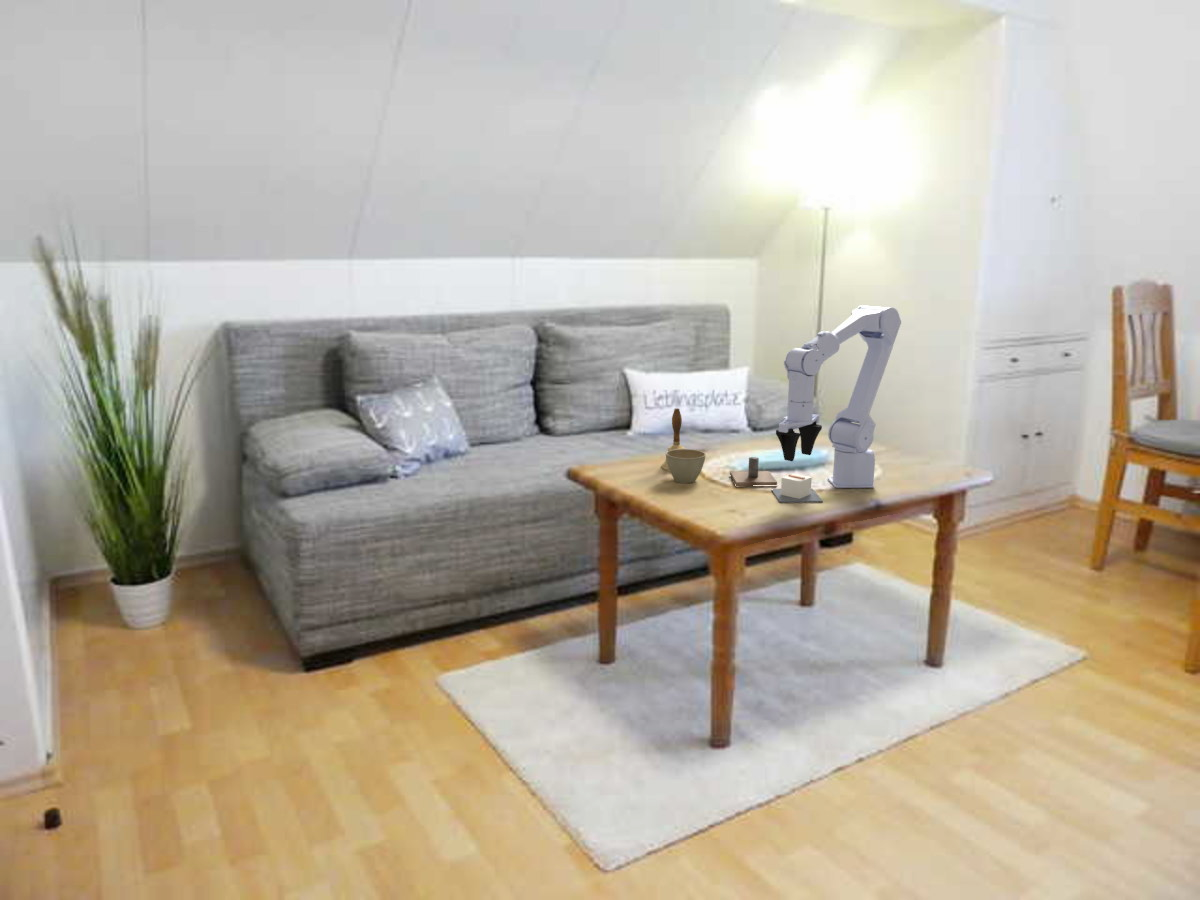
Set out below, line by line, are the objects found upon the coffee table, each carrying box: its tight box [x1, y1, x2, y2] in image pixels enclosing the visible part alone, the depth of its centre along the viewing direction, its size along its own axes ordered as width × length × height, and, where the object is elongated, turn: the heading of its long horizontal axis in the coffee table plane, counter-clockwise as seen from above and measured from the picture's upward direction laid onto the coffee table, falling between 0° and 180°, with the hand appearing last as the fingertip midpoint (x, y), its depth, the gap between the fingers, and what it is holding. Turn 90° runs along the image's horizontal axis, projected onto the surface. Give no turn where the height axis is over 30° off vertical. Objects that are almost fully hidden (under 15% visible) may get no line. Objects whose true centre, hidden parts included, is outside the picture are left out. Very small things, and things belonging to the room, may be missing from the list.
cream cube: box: [780, 472, 813, 499], centre depth 203 cm, size 5×5×4 cm
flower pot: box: [665, 448, 707, 484], centre depth 216 cm, size 10×10×7 cm
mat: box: [771, 487, 824, 504], centre depth 203 cm, size 10×10×1 cm
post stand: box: [729, 456, 778, 487], centre depth 215 cm, size 10×10×6 cm
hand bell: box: [660, 408, 686, 472], centre depth 227 cm, size 8×8×16 cm
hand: (797, 457), depth 202 cm, fingers open, 7 cm apart
